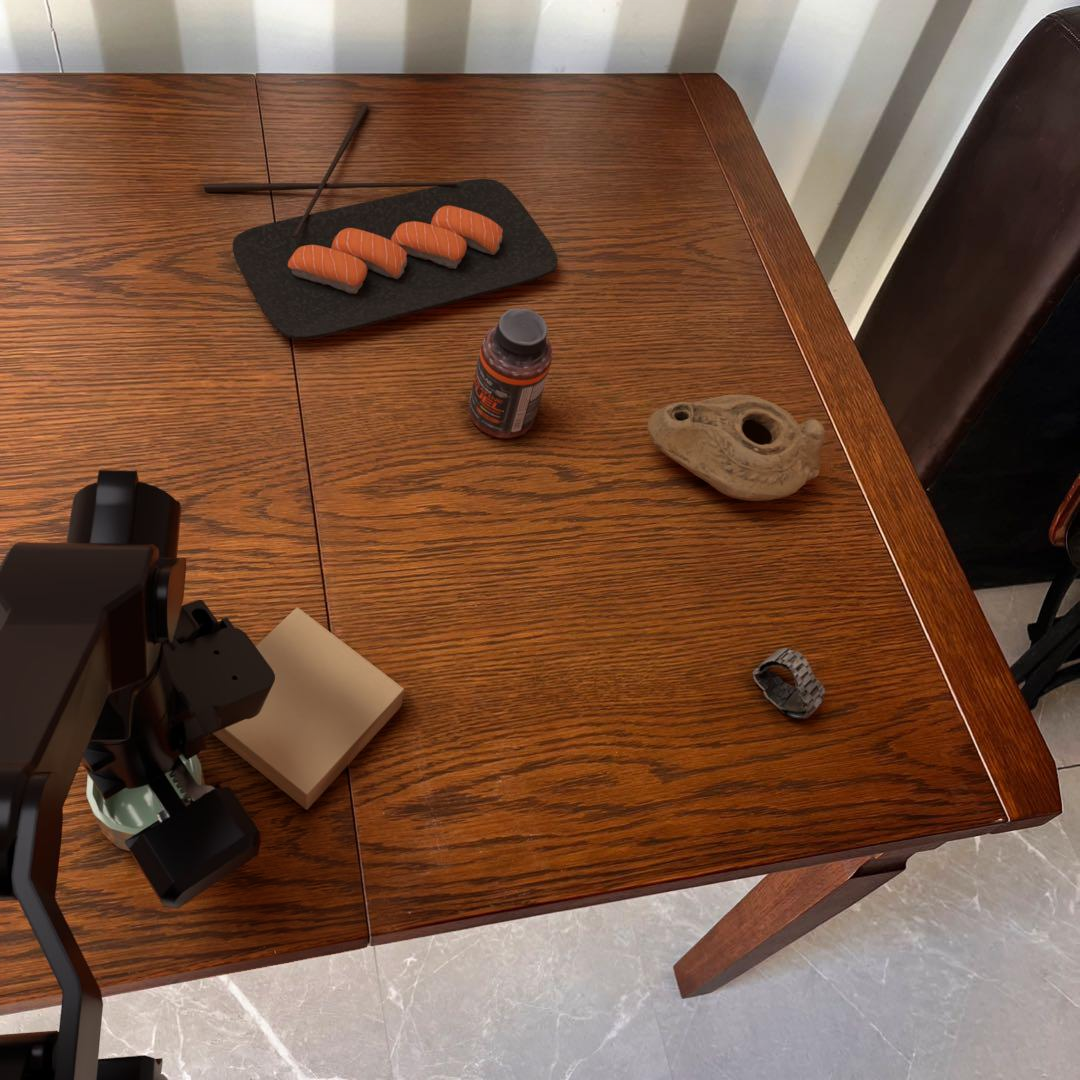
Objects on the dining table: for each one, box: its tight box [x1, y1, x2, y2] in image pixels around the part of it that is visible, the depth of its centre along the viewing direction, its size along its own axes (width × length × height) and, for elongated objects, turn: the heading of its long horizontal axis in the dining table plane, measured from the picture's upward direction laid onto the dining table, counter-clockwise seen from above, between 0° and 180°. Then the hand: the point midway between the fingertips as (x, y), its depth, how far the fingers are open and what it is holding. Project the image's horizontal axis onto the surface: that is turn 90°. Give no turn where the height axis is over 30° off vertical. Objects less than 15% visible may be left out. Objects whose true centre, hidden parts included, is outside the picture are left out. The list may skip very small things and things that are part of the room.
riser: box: [211, 606, 405, 811], centre depth 76 cm, size 10×10×3 cm
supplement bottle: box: [468, 307, 553, 439], centre depth 91 cm, size 6×6×11 cm
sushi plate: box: [203, 103, 559, 341], centre depth 105 cm, size 29×30×4 cm
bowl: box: [85, 754, 206, 852], centre depth 70 cm, size 7×7×4 cm
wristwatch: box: [752, 647, 826, 720], centre depth 84 cm, size 3×5×5 cm
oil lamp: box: [646, 394, 826, 502], centre depth 93 cm, size 11×15×8 cm
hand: (150, 796), depth 70 cm, fingers closed on bowl, 7 cm apart
